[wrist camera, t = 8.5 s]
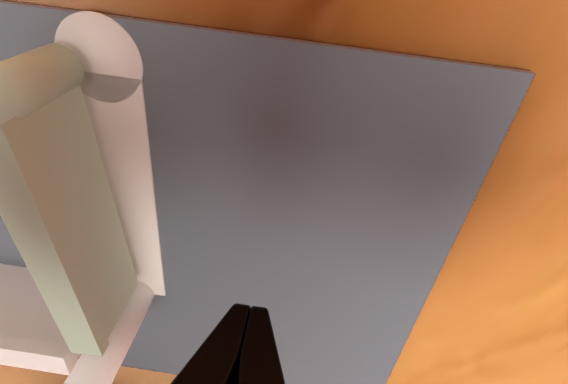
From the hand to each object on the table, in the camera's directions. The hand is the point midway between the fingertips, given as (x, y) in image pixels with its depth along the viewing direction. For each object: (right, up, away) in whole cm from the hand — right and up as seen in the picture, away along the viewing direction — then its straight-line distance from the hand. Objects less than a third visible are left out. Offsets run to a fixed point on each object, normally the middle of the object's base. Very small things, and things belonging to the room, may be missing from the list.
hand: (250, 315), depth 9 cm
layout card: (-5, 0, +10) cm, 11 cm away
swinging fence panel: (-7, +3, +7) cm, 10 cm away
